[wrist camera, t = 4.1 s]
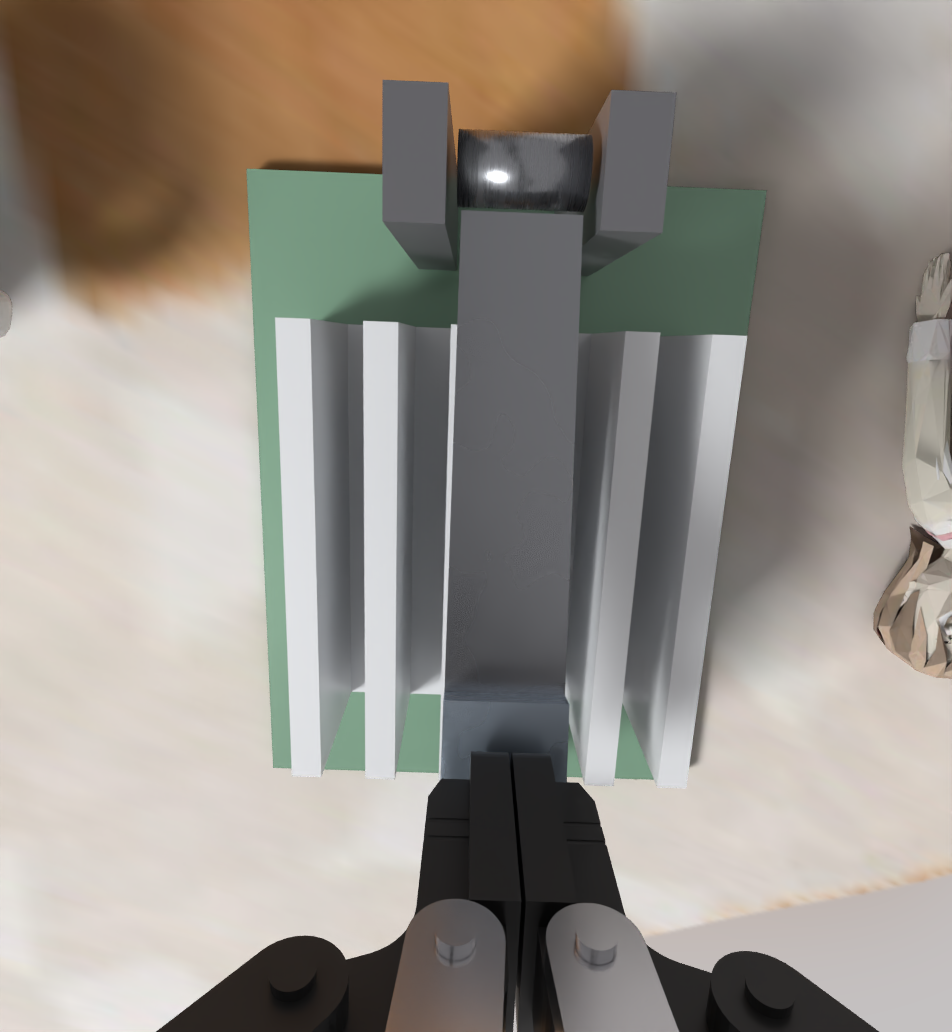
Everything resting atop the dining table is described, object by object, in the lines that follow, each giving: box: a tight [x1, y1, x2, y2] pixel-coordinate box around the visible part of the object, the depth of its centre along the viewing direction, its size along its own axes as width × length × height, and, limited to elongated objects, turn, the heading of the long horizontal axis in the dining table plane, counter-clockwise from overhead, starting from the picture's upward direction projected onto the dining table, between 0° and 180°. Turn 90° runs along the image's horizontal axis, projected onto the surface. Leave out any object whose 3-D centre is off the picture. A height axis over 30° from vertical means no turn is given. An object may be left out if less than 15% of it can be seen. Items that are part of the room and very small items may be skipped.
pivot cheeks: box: [382, 80, 676, 276], centre depth 17 cm, size 2×5×9 cm, turn 88°
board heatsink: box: [247, 169, 767, 788], centre depth 20 cm, size 21×16×7 cm
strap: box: [440, 129, 593, 782], centre depth 13 cm, size 17×3×2 cm, turn 179°
